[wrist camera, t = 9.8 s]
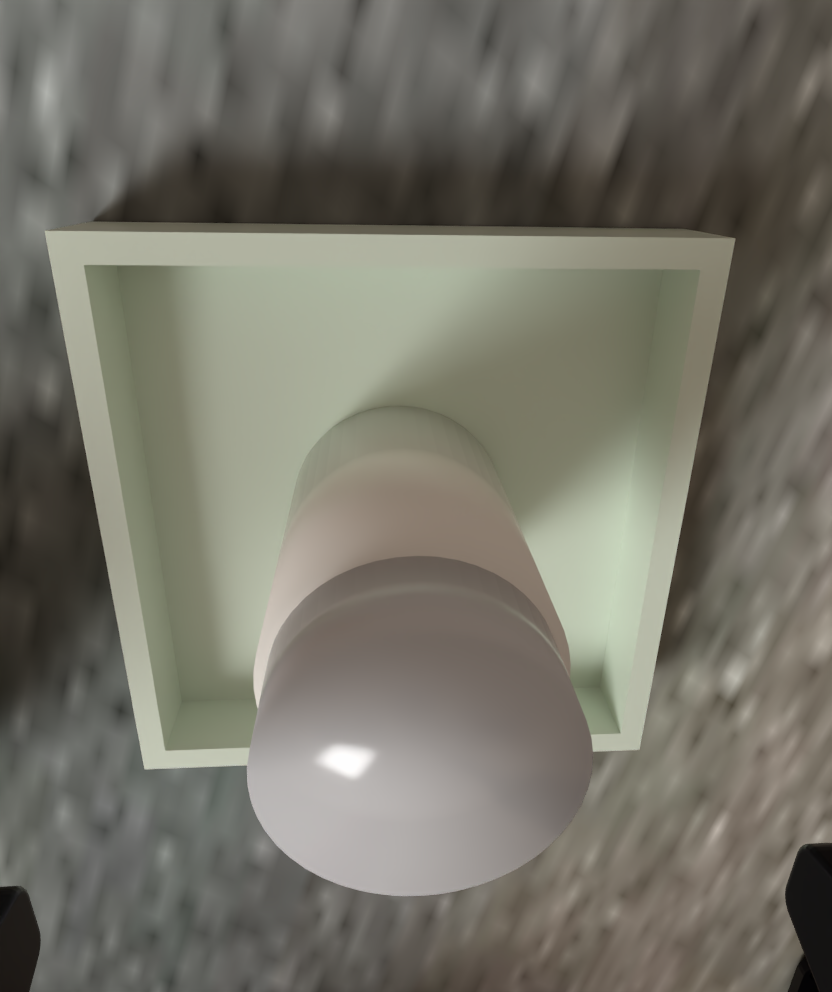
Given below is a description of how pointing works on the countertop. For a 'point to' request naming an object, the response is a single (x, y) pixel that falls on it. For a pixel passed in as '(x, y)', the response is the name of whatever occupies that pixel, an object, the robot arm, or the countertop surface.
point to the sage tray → (368, 385)
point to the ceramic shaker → (411, 669)
